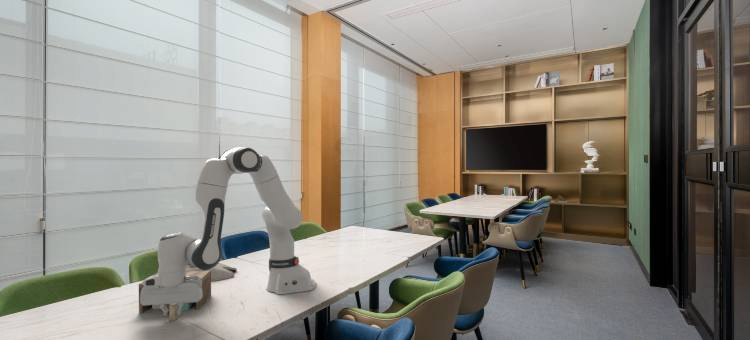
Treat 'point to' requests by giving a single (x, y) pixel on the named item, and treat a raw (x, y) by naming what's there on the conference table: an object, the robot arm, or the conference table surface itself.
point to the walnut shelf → (201, 274)
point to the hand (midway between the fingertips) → (172, 314)
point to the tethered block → (175, 306)
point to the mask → (215, 271)
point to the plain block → (157, 306)
